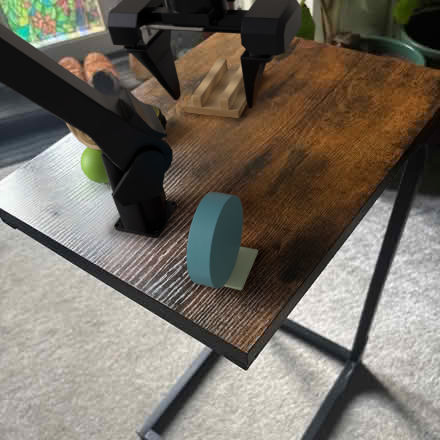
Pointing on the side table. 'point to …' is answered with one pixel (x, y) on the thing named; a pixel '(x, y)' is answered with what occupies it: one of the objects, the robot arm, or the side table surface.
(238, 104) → the rack
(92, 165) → the snail figurine
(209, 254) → the disc
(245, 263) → the felt pad
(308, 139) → the side table surface
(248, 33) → the robot arm
